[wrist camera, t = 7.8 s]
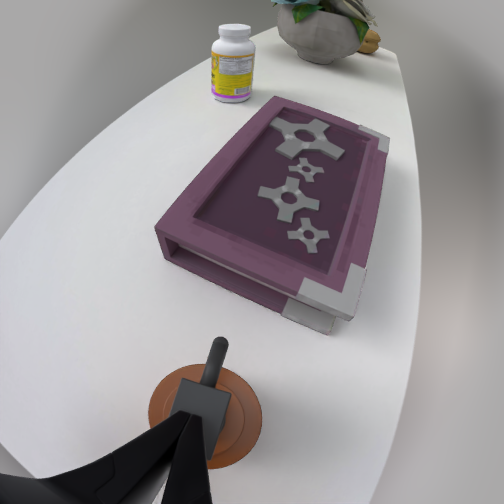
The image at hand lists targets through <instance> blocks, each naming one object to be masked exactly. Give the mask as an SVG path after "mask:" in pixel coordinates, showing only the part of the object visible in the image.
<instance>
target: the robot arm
mask: <svg viewBox="0 0 504 504" xmlns="http://www.w3.org/2000/svg"><path fill="white" fill-rule="evenodd" d="M167 477H168V479H167ZM166 479H167V483H166V486H165V490H164V494H163V498H162V502H161V504H213V503H212V497H211V492H210V483H209V475H208V467H207V458H206V448H205V438H204V427H203V418H202V417H201V416H198V415H195V414H190V413H189V412H186V411H184V410H178V411H177V412H175V413H174V414H172V415H171V416H169V417H168V418H166V419H165V420H163V421H162V422H160V423H159V424H157V425H155V426H154V427H152V428H151V429H149V430H148V431H146V432H144V433H143V434H141V435H140V436H138V437H136V438H135V439H133V440H132V441H130V442H128V443H127V444H125V445H123V446H122V447H120V448H118V449H116V450H115V451H113V452H112V453H109V454H108V455H106V456H104V457H102V458H100V459H98V460H96V461H94V462H92V463H90V464H88V465H85V466H83V467H80V468H77V469H74V470H71V471H68V472H65V473H62V474H59V475H56V476H53V477H49V478H42V479H34V478H26V477H18V476H12V475H7V474H1V473H0V504H152V502H153V501H154V499H155V497H156V496H157V494H158V492H159V491H160V489H161V487H162V485H163V484H164V482H165V480H166Z"/></svg>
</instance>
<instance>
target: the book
mask: <svg viewBox="0 0 504 504" xmlns="http://www.w3.org/2000/svg"><path fill="white" fill-rule="evenodd" d="M389 142H390V138H389V137H387V136H385V135H383V134H381V133H378V132H376V131H374V130H372V129H369V128H367V127H365V126H362V125H357V124H355V123H352V122H350V121H347V120H345V119H342V118H340V117H337V116H334V115H332V114H329V113H326V112H324V111H321V110H318V109H315V108H312V107H309V106H306V105H303V104H300V103H297V102H294V101H290V100H287V99H284V98H280V97H277V96H274V97H272V98H271V99H270V100H269V101H268V102H267V103H266V104H265V105H264V106H263V107H262V108H261V109H260V110H259V111H258V112H257V113H256V114H255V115H254V116H253V117H252V118H251V119H250V120H249V121H248V122H247V123H246V124H245V125H244V126H243V127H242V128H241V129H240V130H239V131H238V132H237V133H236V134H235V135H234V136H233V137H232V138H231V139H230V140H229V141H228V142H227V143H226V144H225V145H224V147H223V148H222V149H221V150H220V151H219V152H218V153H217V154H216V155H215V156H214V157H213V158H212V159H211V161H210V162H209V163H208V164H207V165H206V166H205V167H204V168H203V169H202V171H201V172H200V173H199V174H198V175H197V176H196V177H195V178H194V180H193V181H192V182H191V183H190V184H189V185H188V186H187V188H186V189H185V190H184V191H183V192H182V193H181V195H180V196H179V197H178V198H177V199H176V201H175V202H174V203H173V204H172V205H171V207H170V208H169V209H168V210H167V211H166V213H165V214H164V215H163V216H162V218H161V219H160V220H159V221H158V223H157V224H156V225H155V226H154V228H155V231H156V234H157V237H158V240H159V243H160V246H161V249H162V252H163V255H164V258H165V259H166V260H168V261H170V262H172V263H174V264H176V265H178V266H180V267H182V268H184V269H186V270H188V271H191V272H193V273H195V274H197V275H199V276H201V277H203V278H205V279H207V280H209V281H211V282H213V283H215V284H217V285H220V286H222V287H224V288H226V289H228V290H230V291H232V292H234V293H237V294H239V295H241V296H243V297H245V298H247V299H250V300H252V301H254V302H256V303H258V304H260V305H263V306H265V307H267V308H269V309H272V310H274V311H276V312H278V313H281V316H284V317H286V318H288V319H290V320H293V321H295V322H297V323H300V324H302V325H304V326H307V327H309V328H311V329H314V330H316V331H318V332H321V333H323V334H325V335H328V334H329V333H330V332H331V329H332V327H333V324H334V321H335V318H336V316H337V317H339V318H342V319H344V320H346V321H350V320H351V319H352V318H353V317H354V315H355V311H356V308H357V305H358V301H359V298H360V294H361V290H362V287H363V283H364V279H365V275H366V271H367V270H366V269H365V267H366V263H367V259H368V255H369V250H370V246H371V242H372V237H373V232H374V228H375V223H376V218H377V213H378V207H379V202H380V196H381V190H382V184H383V178H384V171H385V164H386V157H387V155H388V151H389Z"/></svg>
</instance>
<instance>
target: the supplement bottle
mask: <svg viewBox="0 0 504 504" xmlns="http://www.w3.org/2000/svg"><path fill="white" fill-rule="evenodd" d="M250 33H251V27H250V26H248V25H243V24H225V25H221V26H219V35H220V39H218V40H217V41H215V42H214V43H213V45H212V95H213V97H214V98H215V99H217V100H219V101H222V102H230V103H235V102H241V101H244V100H247V99H248V98H249V97H250V96H251V93H252V81H253V70H254V59H255V49H256V47H255V44H254V43H253V42H252V41H251V40H249V35H250Z"/></svg>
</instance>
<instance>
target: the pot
mask: <svg viewBox="0 0 504 504" xmlns="http://www.w3.org/2000/svg"><path fill="white" fill-rule="evenodd" d="M380 40H381V39H380V37H379V35H378V34H377V33H376V32H374V31H372V30H370V29H368V31H367V33H366V35H365V38H364V41H363V44H362V45H361V47H360V48H359V49H358V50H357V51H360V52H363V53H373V52H375V51H376V50H377V49H378V48H379V46H378V42H380Z"/></svg>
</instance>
